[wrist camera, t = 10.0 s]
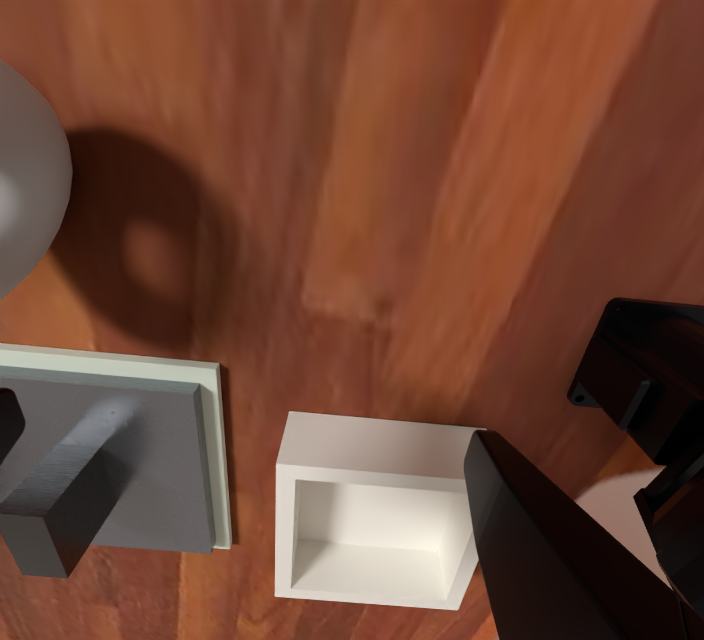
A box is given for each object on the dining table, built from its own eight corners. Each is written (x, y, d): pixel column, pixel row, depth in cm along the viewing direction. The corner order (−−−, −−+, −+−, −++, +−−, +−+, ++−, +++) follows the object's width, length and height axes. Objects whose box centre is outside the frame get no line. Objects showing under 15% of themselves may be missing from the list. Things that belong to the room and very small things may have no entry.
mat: (219, 363, 21) (215, 369, 21) (232, 541, 28) (229, 549, 28) (-73, 336, 21) (-85, 342, 20) (15, 524, 28) (8, 531, 27)
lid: (199, 383, 21) (151, 460, 16) (216, 539, 27) (184, 629, 23) (-57, 360, 21) (-186, 431, 16) (19, 524, 27) (-56, 612, 22)
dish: (486, 428, 23) (509, 483, 19) (445, 549, 28) (457, 610, 25) (289, 411, 23) (276, 463, 19) (285, 537, 28) (275, 596, 25)
